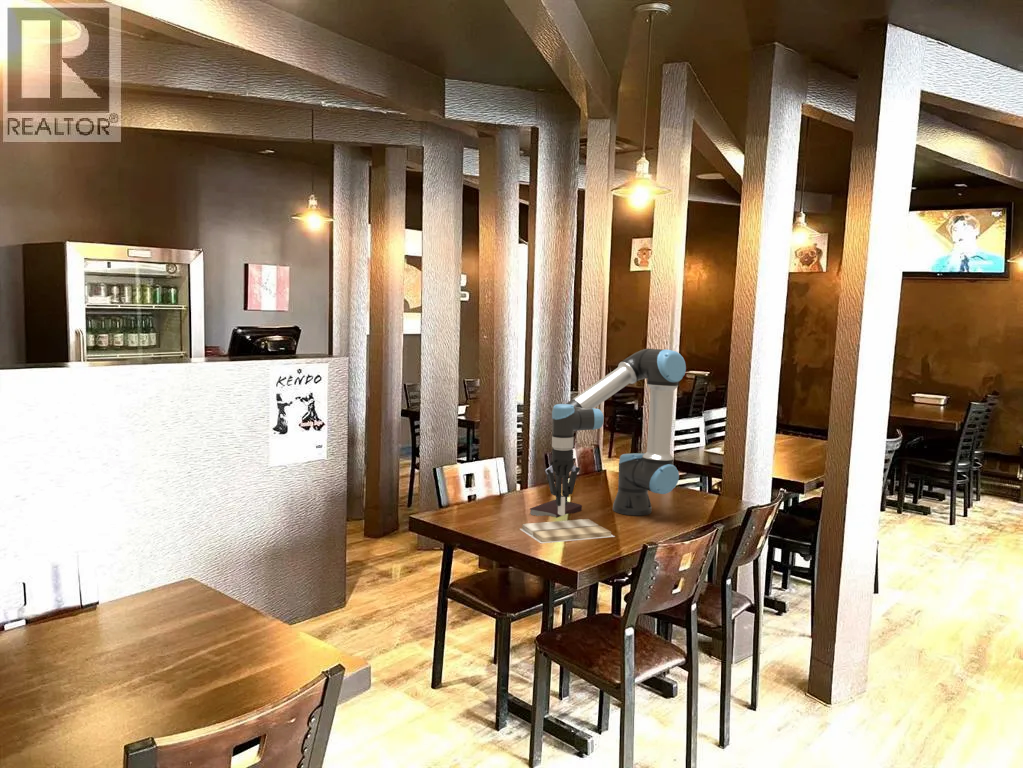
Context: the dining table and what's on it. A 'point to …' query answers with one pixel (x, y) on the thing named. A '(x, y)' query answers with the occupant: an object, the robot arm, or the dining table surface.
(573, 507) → the book
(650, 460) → the robot arm
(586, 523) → the loose plank
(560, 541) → the floor board
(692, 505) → the dining table surface
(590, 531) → the laid plank
